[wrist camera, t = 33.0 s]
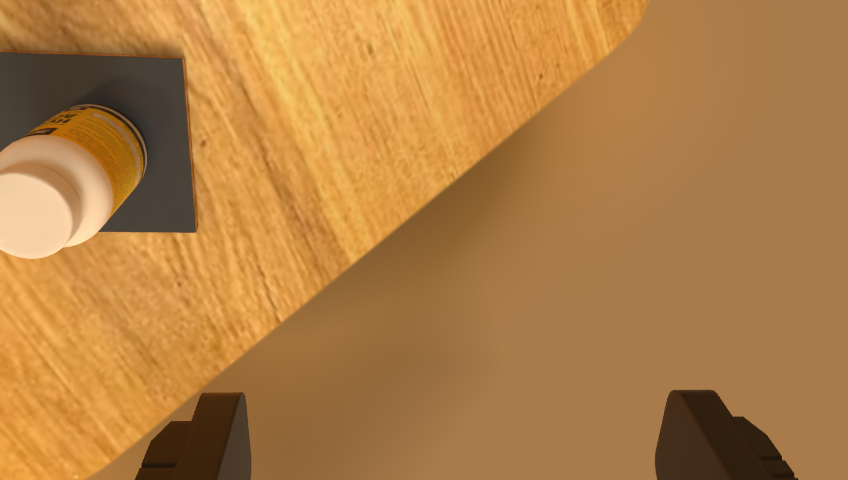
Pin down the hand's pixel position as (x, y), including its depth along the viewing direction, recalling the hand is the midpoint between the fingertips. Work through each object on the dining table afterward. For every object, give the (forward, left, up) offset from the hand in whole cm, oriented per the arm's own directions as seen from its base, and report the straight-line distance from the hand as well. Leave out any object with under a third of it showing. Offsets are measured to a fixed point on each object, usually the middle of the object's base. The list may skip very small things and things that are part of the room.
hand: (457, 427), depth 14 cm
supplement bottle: (+16, +4, -29) cm, 33 cm away
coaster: (+16, +3, -29) cm, 33 cm away
